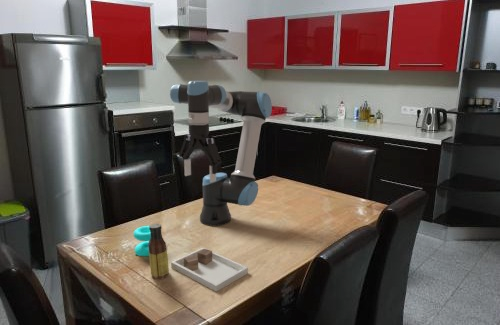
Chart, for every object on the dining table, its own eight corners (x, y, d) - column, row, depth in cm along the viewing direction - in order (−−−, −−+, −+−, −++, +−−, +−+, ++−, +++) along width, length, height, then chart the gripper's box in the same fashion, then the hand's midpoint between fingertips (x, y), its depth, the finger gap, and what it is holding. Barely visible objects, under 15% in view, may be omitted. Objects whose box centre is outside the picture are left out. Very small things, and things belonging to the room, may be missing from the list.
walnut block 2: (197, 262, 149) (197, 252, 148) (204, 257, 152) (203, 248, 151) (206, 264, 147) (205, 255, 146) (212, 260, 150) (212, 251, 149)
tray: (171, 269, 145) (171, 262, 145) (203, 254, 157) (203, 247, 156) (216, 293, 130) (216, 285, 129) (247, 275, 142) (247, 267, 141)
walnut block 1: (183, 267, 145) (183, 257, 144) (193, 264, 147) (193, 254, 146) (188, 272, 142) (188, 262, 141) (198, 269, 144) (198, 259, 143)
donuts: (160, 232, 153) (134, 236, 150) (161, 255, 155) (136, 260, 152) (157, 223, 162) (132, 226, 159) (158, 245, 164) (133, 248, 161)
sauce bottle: (170, 272, 143) (167, 221, 139) (167, 281, 137) (164, 229, 132) (152, 272, 143) (149, 221, 138) (148, 281, 137) (145, 229, 132)
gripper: (168, 121, 149) (170, 174, 154) (216, 128, 134) (217, 187, 139) (183, 119, 155) (185, 170, 160) (230, 125, 140) (231, 182, 145)
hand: (200, 178), depth 149 cm, fingers open, 13 cm apart
